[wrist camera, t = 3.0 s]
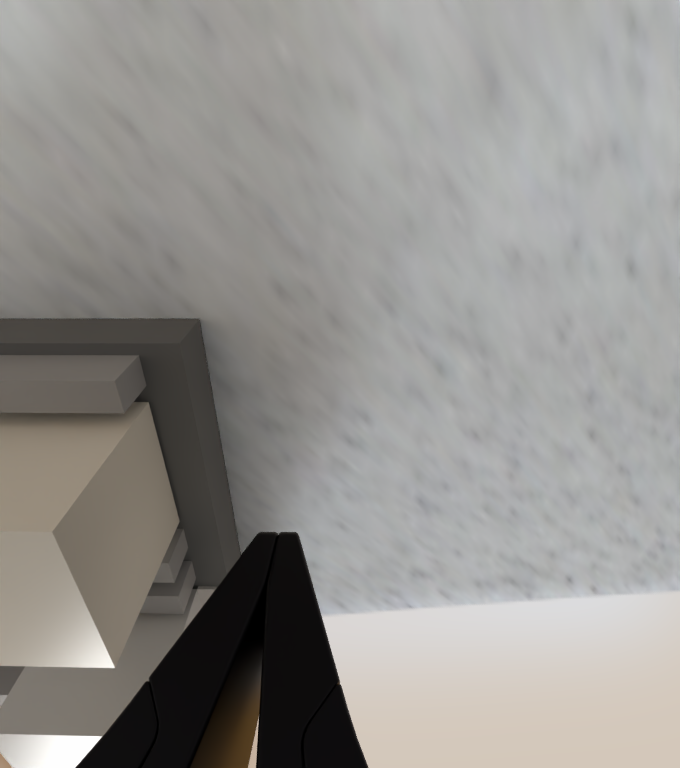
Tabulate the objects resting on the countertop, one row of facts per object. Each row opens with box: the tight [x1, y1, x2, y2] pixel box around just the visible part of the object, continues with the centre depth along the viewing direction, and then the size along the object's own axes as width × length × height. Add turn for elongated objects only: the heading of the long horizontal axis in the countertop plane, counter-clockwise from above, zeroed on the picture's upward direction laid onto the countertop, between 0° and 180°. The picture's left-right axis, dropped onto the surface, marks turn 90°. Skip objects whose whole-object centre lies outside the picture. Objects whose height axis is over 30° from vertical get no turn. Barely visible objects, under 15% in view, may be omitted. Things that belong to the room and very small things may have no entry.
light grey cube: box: [0, 589, 202, 768], centre depth 14 cm, size 4×4×4 cm
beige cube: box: [0, 402, 180, 668], centre depth 10 cm, size 4×4×4 cm
